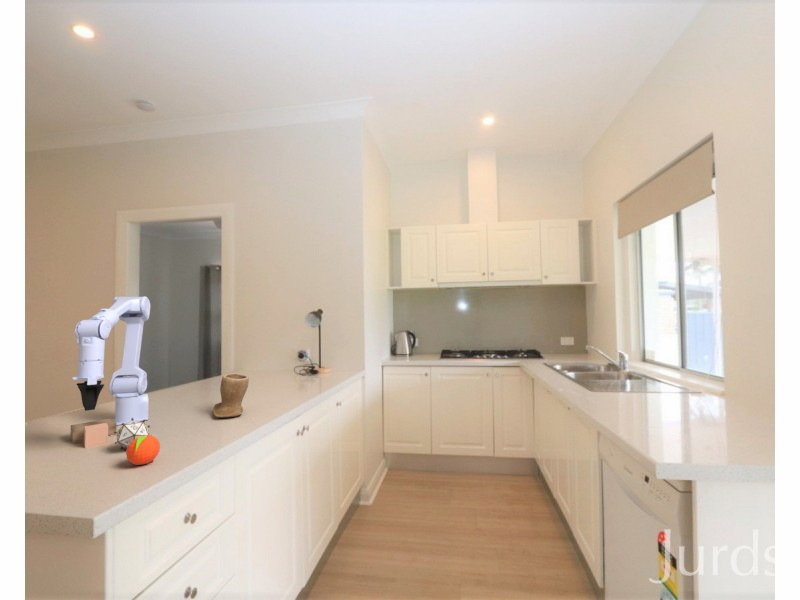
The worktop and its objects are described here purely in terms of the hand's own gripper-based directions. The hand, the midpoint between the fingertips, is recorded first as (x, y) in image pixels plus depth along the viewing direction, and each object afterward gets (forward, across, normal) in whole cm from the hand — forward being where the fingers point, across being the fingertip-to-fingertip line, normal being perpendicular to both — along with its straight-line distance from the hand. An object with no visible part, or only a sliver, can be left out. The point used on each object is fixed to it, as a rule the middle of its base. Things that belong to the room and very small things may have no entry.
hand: (88, 408), depth 104 cm
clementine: (+12, +28, +9) cm, 31 cm away
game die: (+11, +13, +9) cm, 19 cm away
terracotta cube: (+10, 0, +2) cm, 11 cm away
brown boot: (+10, -5, +41) cm, 42 cm away
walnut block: (+10, -9, +2) cm, 14 cm away
